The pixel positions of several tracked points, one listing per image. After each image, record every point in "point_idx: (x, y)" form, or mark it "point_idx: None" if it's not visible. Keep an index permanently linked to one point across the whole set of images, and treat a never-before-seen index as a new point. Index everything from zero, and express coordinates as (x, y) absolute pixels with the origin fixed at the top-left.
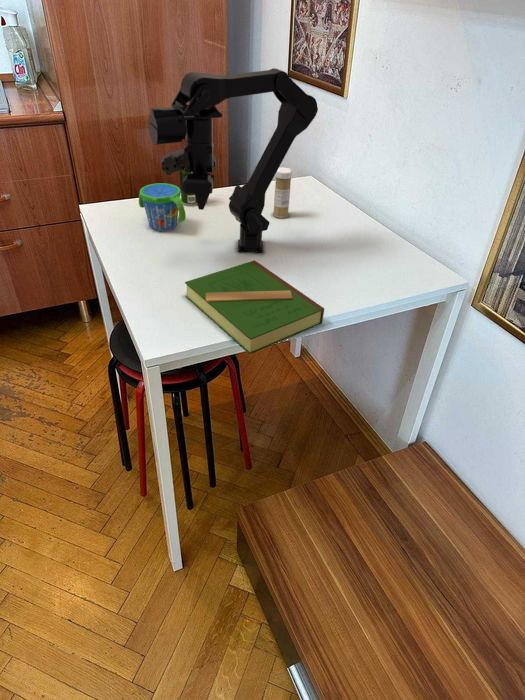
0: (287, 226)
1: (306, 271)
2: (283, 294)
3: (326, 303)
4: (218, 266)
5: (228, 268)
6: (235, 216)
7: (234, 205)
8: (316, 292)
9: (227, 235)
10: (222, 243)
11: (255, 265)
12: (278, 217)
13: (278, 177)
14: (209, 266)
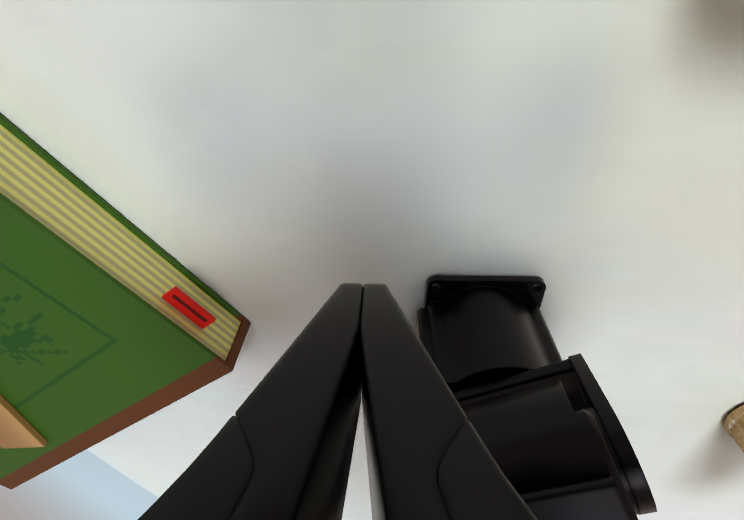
0: (643, 424)
1: None
2: (7, 432)
3: (145, 456)
4: (286, 197)
5: (113, 283)
6: (482, 409)
7: (513, 477)
8: (192, 446)
9: (625, 229)
10: (534, 208)
11: (186, 372)
12: (734, 410)
13: None
14: (277, 155)
